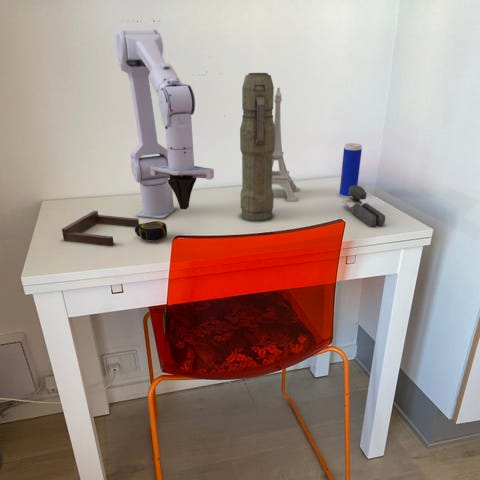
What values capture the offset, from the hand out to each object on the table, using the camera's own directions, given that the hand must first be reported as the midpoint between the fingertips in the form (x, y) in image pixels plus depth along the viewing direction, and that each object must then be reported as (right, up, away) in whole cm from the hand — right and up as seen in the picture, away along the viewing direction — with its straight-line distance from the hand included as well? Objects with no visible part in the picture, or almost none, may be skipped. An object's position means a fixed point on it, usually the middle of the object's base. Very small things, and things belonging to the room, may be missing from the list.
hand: (184, 208), depth 110 cm
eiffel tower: (+24, +13, +38) cm, 47 cm away
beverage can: (+46, +12, +36) cm, 60 cm away
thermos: (+18, +2, +20) cm, 27 cm away
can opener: (+46, +2, +20) cm, 51 cm away
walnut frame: (-21, -4, +10) cm, 24 cm away
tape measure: (-9, -6, +7) cm, 13 cm away
